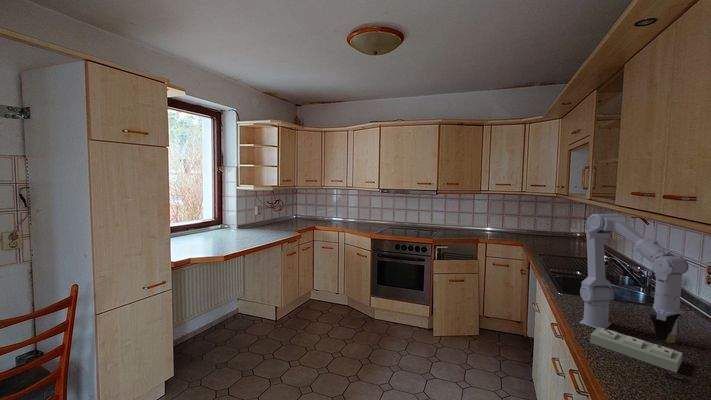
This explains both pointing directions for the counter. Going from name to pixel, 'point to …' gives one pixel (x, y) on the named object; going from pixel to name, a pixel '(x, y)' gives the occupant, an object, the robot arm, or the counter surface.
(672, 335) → the sprinkles bottle
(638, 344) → the tile one pip
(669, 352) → the tile two pips
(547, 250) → the counter surface
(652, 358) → the button board
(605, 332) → the tile three pips
